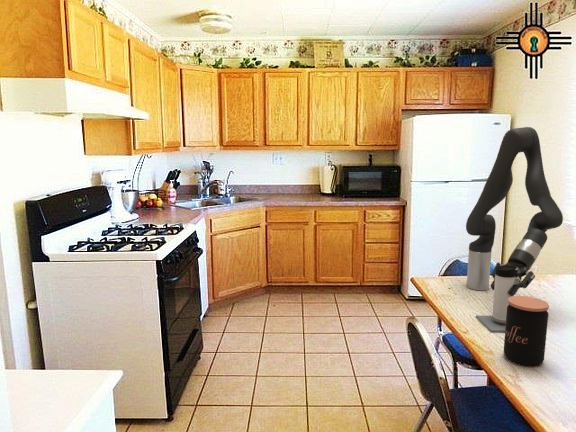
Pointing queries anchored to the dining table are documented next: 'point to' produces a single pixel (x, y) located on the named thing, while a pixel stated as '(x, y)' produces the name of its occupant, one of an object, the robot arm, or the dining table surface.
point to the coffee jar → (526, 330)
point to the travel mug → (502, 291)
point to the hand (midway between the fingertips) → (501, 291)
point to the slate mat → (492, 324)
